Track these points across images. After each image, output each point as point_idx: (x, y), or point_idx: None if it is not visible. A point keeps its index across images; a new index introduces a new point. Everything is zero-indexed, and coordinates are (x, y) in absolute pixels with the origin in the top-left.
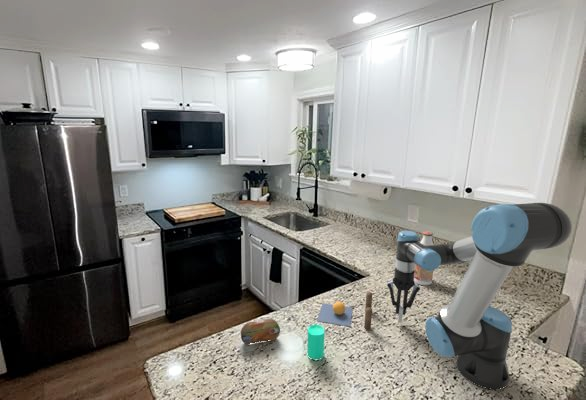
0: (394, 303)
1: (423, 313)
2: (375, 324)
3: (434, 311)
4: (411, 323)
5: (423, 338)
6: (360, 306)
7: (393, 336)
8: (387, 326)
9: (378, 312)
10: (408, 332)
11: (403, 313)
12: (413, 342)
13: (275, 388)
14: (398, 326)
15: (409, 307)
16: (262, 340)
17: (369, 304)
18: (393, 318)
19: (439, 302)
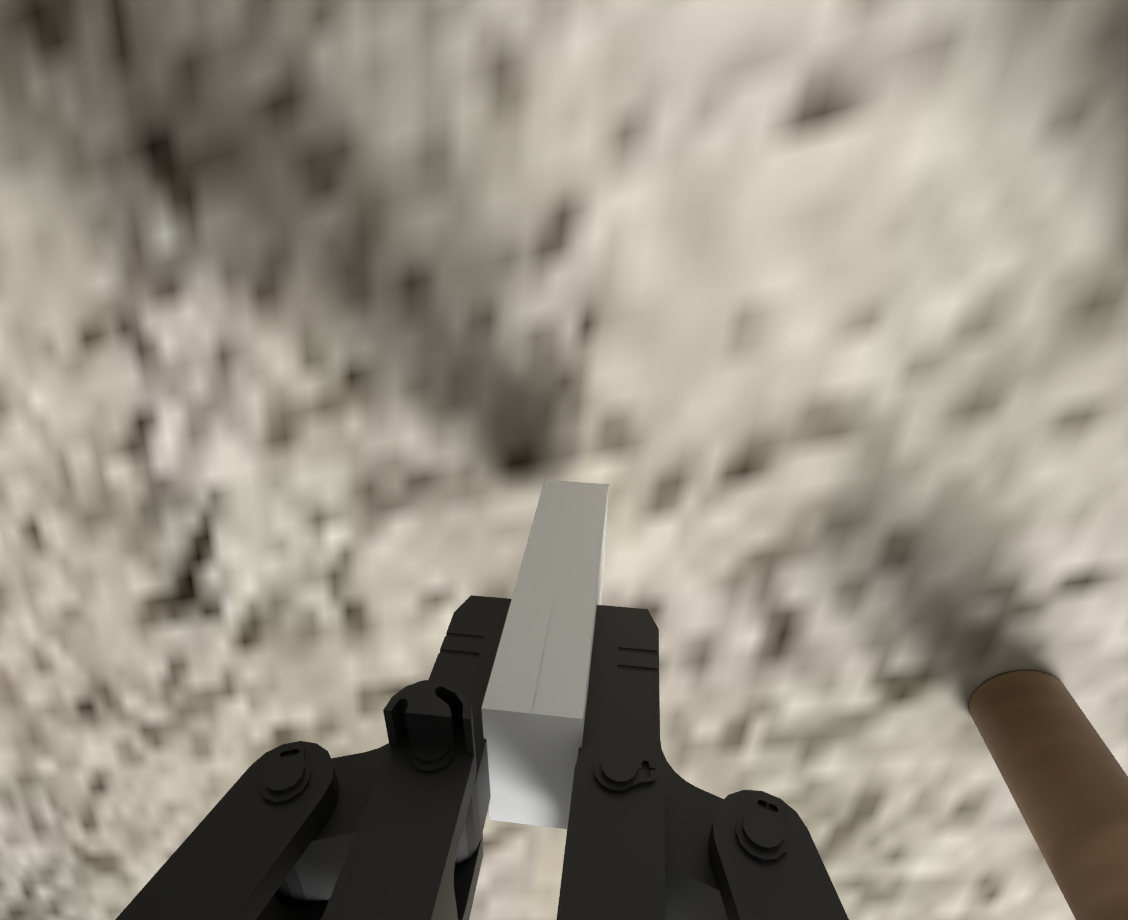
0: (746, 867)
1: (274, 728)
2: (1004, 421)
3: (168, 765)
4: (407, 538)
5: (217, 208)
6: None
7: (738, 124)
8: (790, 407)
9: (853, 695)
10: (454, 318)
11: (496, 618)
12: (370, 23)
13: None
14: (602, 440)
15: (301, 750)
16: None
17: (1111, 814)
18: (653, 604)
19: (147, 876)
